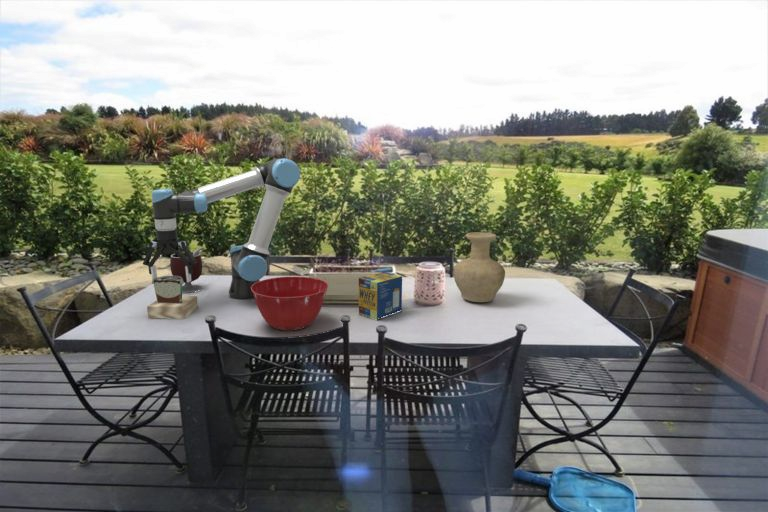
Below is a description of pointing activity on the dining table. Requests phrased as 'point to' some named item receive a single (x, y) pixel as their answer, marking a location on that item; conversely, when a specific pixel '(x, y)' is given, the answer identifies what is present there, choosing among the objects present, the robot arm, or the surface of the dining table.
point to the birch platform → (173, 308)
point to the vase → (479, 270)
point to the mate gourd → (179, 270)
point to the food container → (168, 289)
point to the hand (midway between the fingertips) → (172, 281)
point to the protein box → (380, 294)
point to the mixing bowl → (289, 300)
